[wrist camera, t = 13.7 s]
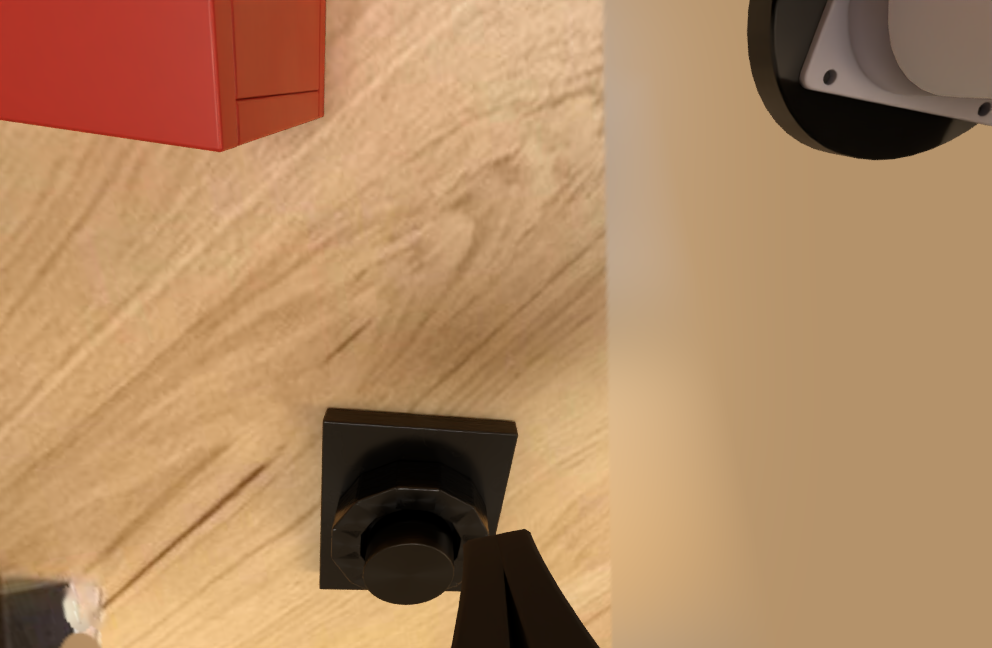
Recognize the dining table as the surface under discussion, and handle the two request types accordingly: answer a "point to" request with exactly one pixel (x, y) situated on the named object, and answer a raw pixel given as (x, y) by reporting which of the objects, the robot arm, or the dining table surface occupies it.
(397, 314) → the dining table surface
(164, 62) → the cabinet
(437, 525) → the alarm button
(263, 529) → the dining table surface
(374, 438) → the block
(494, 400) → the dining table surface
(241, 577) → the dining table surface
